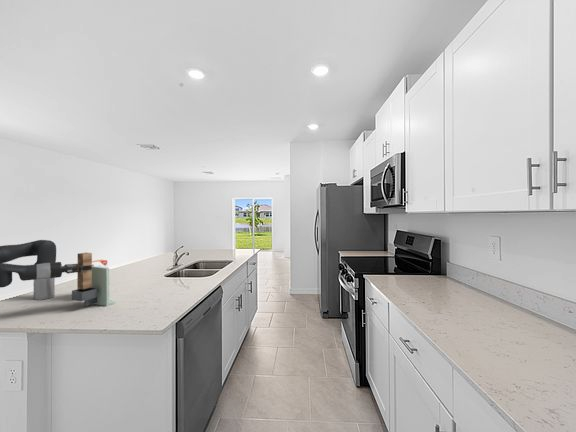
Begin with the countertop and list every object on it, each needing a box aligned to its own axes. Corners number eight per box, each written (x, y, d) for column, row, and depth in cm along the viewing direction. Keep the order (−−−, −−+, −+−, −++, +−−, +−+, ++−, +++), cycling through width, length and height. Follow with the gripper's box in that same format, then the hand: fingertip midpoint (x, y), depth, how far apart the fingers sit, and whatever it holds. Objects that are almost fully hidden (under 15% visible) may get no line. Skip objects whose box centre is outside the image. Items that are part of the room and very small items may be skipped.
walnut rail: (77, 288, 150) (77, 253, 150) (86, 286, 154) (86, 252, 154) (83, 289, 149) (83, 254, 148) (91, 287, 153) (91, 253, 152)
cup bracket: (67, 308, 151) (66, 269, 151) (95, 299, 165) (95, 264, 165) (87, 312, 145) (87, 272, 145) (115, 303, 159) (115, 266, 159)
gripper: (48, 275, 147) (88, 271, 158) (49, 281, 136) (92, 275, 148) (48, 260, 147) (88, 257, 158) (49, 265, 136) (92, 261, 148)
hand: (90, 266), depth 153 cm, fingers closed on walnut rail, 6 cm apart
